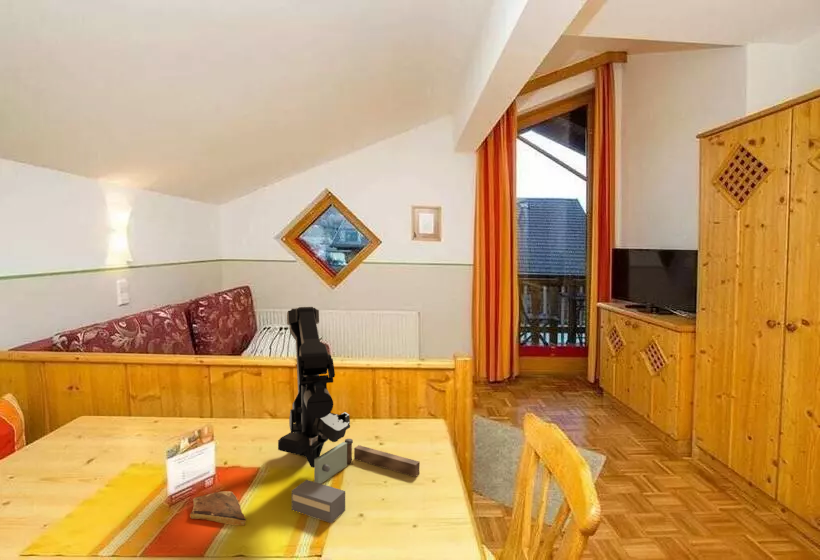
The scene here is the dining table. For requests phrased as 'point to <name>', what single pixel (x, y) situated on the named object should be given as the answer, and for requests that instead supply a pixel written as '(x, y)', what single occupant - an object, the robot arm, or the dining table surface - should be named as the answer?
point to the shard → (218, 508)
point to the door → (330, 463)
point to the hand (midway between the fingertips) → (313, 466)
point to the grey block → (318, 501)
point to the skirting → (387, 460)
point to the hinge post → (349, 450)
